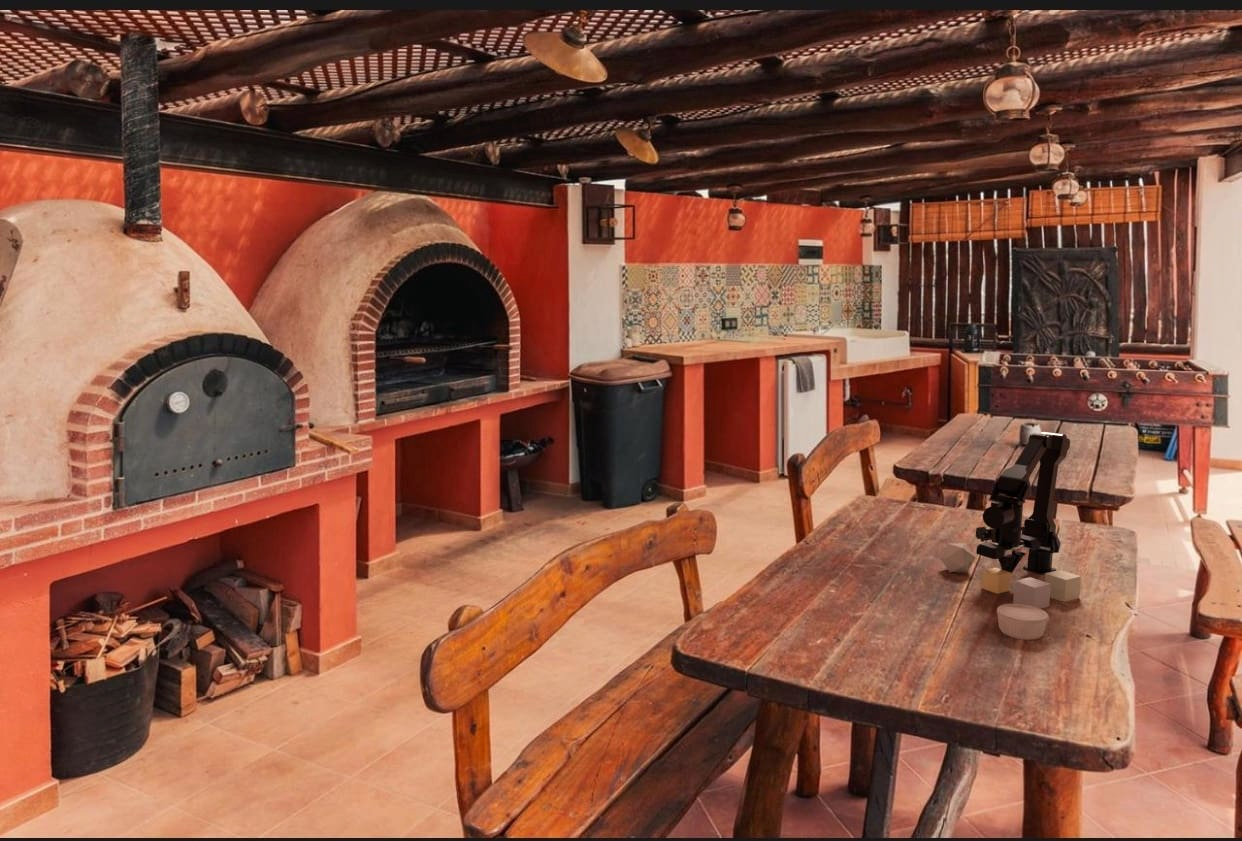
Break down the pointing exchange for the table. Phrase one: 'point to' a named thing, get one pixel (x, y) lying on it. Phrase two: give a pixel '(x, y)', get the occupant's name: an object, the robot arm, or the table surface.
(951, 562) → the die
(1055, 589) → the tan cube
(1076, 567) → the table surface
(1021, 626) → the ramekin
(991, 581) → the mustard block
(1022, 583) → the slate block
